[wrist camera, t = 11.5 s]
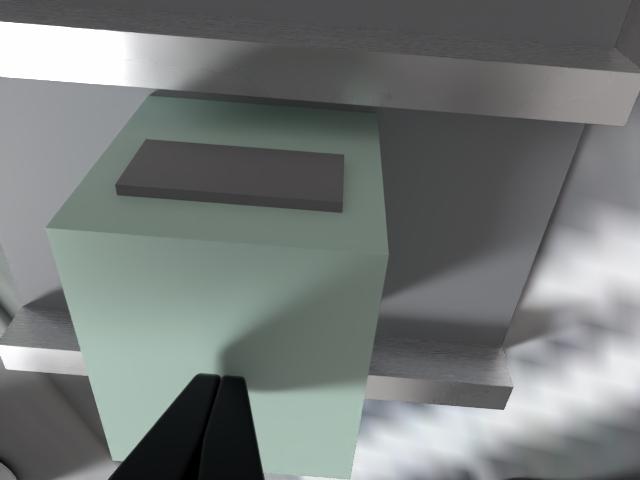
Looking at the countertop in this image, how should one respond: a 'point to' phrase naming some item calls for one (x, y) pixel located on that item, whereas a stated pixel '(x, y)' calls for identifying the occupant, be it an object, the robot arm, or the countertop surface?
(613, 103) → the mounting board
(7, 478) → the photo printer
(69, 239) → the green module
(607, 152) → the countertop surface
